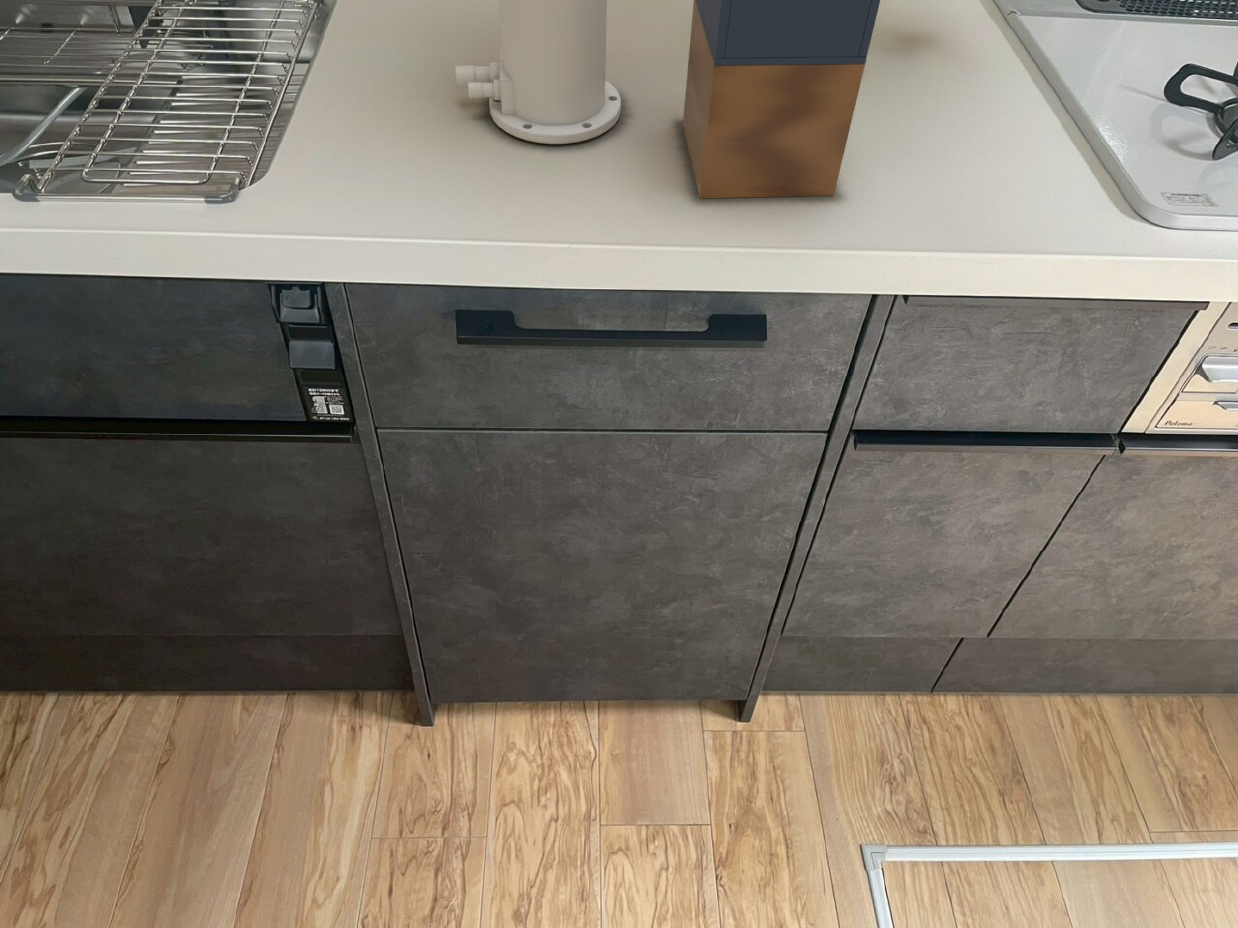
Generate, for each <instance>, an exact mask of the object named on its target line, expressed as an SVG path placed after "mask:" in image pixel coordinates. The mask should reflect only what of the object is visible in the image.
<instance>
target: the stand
mask: <svg viewBox="0 0 1238 928" xmlns="http://www.w3.org/2000/svg"><path fill="white" fill-rule="evenodd" d="M690 29H691V30H690V39H689V49H688V62H687V73H686V85H685V86H686V87H685V96H684V105H683V106H684V108H683V116H682V118H683V119H682V128H683V132H684V136H685V141H686V145H687V149H688V154H689V158H690V162H691V166H692V170H693V175H694V178H695V184H696V189H697V192H698V193H697V194H698V197H699V199H738V198H739V199H740V198H743V199H744V198H775V197H776V198H780V197H781V198H783V197H784V198H785V197H788V198H789V197H826V196H828V197H829V196H835V193H836V188H837V184H838V180H839V176H840V171H841V167H842V163H843V159H844V155H845V151H846V146H847V144H848V143H847V142H848V138H849V133H850V130H851V125H852V121H853V117H854V112H855V108H856V105H857V100H858V96H859V91H860V88H861V83H862V79H863V75H864V71H865V67H866V63H865V64H811V65H724V66H715V65H714V61H713V58H712V55H711V51H710V48H709V45H708V41H707V38H706V34H705V31H704V28H703V24H702V21H701V18H700V14H699V11H698V8H697V4H696V1H695V0H693V5H692V18H691V27H690Z"/></svg>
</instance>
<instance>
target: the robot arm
mask: <svg viewBox="0 0 1238 928" xmlns="http://www.w3.org/2000/svg"><path fill="white" fill-rule="evenodd" d="M498 7H499V8H498V10H499V23H500V25H499V26H500V36H501V37H500V41H501V50H500V51H499V61H492V62H489V63H488V64H489V65H487V66H482V65H481V66H478V65H477V66H475V65H455V83H456V88H457V89H459V88H461V89H462V88H467V93H468V98H469V99H483V98H489V100H488V101H489V102H488V103H489V113H490V116H491V118H492V121H493V122H494V123H495V124H496V125H497V127H499V128H500V129H502V130H503V131H504V132H505V133H507V134H509V135H511V136H513V137H515V138H518V139H521V140H524V141H527V142H532V143H536V144H546V145H566V144H567V145H568V144H574V143H580V142H583V141H588V140H591V139H593V138H596V137H599V136H600V135H602V134H604V133H606V132H607V131H609V130H610V129H611V128H613V127H614V126H615V125H616V123H617V122H618V120H619V119H620V116H621V113H622V99H621V94H620V93H619V91H618V90H617V88H616V87H615V86H614V85H613V84H612V83H610V81H608V80H606V67H607V66H606V65H607V63H606V62H607V61H606V59H607V16H608V15H607V13H608V12H607V9H608V0H498Z"/></svg>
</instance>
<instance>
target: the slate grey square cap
mask: <svg viewBox="0 0 1238 928" xmlns="http://www.w3.org/2000/svg"><path fill="white" fill-rule="evenodd" d="M695 1H696V4H697V8H698V11H699V14H700V18H701V21H702V24H703V28H704V31H705V34H706V38H707V41H708V45H709V48H710V51H711V55H712V58H713V61H714V65H715V66H724V65H811V64H865V65H866V62H867V57H868V53H869V49H870V45H871V41H872V37H873V33H874V29H875V24H876V20H877V15H878V11H879V9H880V8H879V7H880V3H881V0H695Z"/></svg>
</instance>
